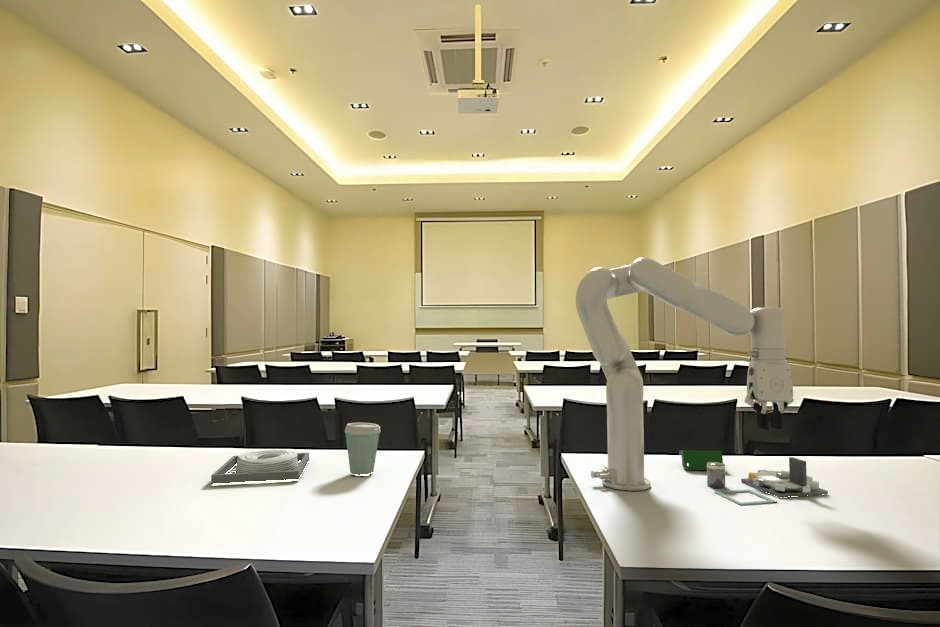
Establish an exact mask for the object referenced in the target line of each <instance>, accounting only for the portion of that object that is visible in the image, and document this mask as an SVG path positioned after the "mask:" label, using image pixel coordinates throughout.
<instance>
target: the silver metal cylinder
mask: <svg viewBox="0 0 940 627" xmlns="http://www.w3.org/2000/svg"><path fill="white" fill-rule="evenodd" d="M706 475H707V476H706V478H707V479H706V480H707V481H706V482H707V487H708V488H710V487H711V489H715V490H716V489H717V490H722V489H726V463H724V462H723V463H719V462H708V463H707V470H706Z"/></svg>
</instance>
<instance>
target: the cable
mask: <svg viewBox="0 0 940 627" xmlns="http://www.w3.org/2000/svg"><path fill="white" fill-rule="evenodd" d="M297 453H298V452H294V451H292V450H282V449H268V450H267V449H265V450H257V451H247V452H243V453H241V454H239V455H237V456H238V459H237V466H236V467H235V469H232V470H231V471H230V472H228V473H235V472H232V471H236V473H253V472H273V471H294V470H296V469H297V467H298V466H299V463H298V460H297V456H298V455H297Z"/></svg>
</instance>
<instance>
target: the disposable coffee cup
mask: <svg viewBox="0 0 940 627" xmlns="http://www.w3.org/2000/svg"><path fill="white" fill-rule="evenodd" d="M344 433H345V441H346V448H347V455H348V456H347V458H348V465H349V472H350V474H351V473H352V474H358V475H360V474H368V473H371V472H373V473H374V469H375V463H376V460H377V459H376V458H377V453H378V446H379V445H378V444H379V438H380V433H381V426H380V425H379V424H377V423H370V422H351V423H347V424H346V426H345V429H344Z"/></svg>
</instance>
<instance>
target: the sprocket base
mask: <svg viewBox="0 0 940 627" xmlns="http://www.w3.org/2000/svg"><path fill="white" fill-rule="evenodd" d="M741 483H742V484H744V485H746V486H749V487H751V486H752V488H754V489H756V488H757V489H756V490H758V489H759V491H761V490H762V491H761V492H763V491H764V492H763V493H765V492H767V493H766V494H768V493H770V494H772V495H771V496H773V495H775V496H777V497H788V496H790V498H792V497H791V496H805V497H810V496H809V495H820V496H823V495H822V494H828V495H829V491H828V490H826V489H823V488H821V487H819V489H814V488H811V492H800V491H788V490H785V491H779V490H775V489H774V488H770V487H766V486H758V485H755V484H753V480H750V479H748V477H747V478H741ZM770 494H769V495H770ZM807 495H808V496H807ZM775 496H774V497H775ZM777 497H776V498H777Z"/></svg>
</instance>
